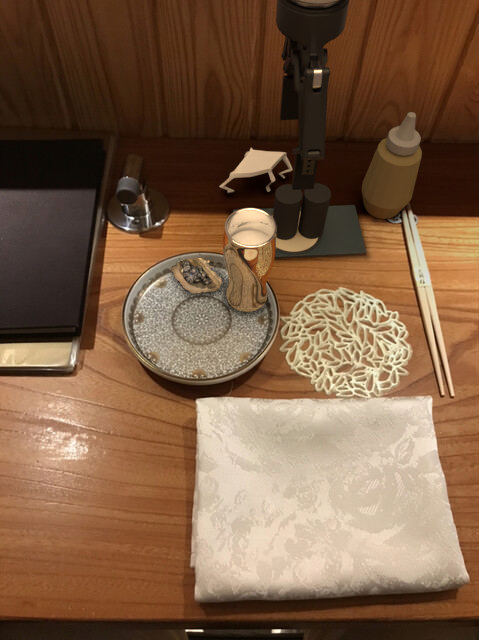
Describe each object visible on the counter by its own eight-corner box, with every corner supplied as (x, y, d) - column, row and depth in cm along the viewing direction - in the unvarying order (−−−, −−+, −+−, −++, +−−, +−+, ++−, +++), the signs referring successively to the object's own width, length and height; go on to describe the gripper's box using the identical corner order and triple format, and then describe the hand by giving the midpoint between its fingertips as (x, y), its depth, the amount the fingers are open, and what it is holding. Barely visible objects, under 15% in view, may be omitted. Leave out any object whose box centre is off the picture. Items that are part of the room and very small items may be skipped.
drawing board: (354, 207, 92) (355, 204, 92) (365, 255, 87) (366, 252, 87) (233, 212, 91) (233, 208, 91) (237, 260, 86) (237, 257, 86)
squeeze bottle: (411, 198, 94) (447, 106, 79) (398, 231, 90) (433, 141, 75) (365, 182, 95) (391, 90, 80) (350, 215, 92) (374, 123, 76)
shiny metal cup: (213, 292, 83) (211, 223, 70) (249, 268, 85) (253, 198, 73) (244, 323, 80) (247, 257, 67) (280, 297, 83) (290, 229, 70)
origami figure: (258, 154, 99) (259, 131, 94) (293, 179, 96) (296, 156, 91) (208, 188, 94) (207, 166, 90) (244, 215, 91) (244, 193, 87)
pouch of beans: (189, 249, 87) (188, 241, 86) (233, 271, 85) (233, 264, 83) (163, 279, 84) (162, 271, 82) (208, 303, 82) (208, 295, 80)
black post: (295, 220, 90) (301, 183, 83) (297, 240, 88) (303, 203, 81) (270, 220, 90) (274, 184, 83) (272, 240, 87) (276, 204, 81)
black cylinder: (321, 219, 90) (329, 182, 83) (325, 238, 88) (333, 202, 81) (296, 220, 90) (302, 183, 83) (299, 239, 88) (305, 203, 81)
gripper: (265, -68, 64) (259, 94, 82) (293, 64, 51) (278, 222, 69) (330, -70, 65) (310, 91, 83) (374, 60, 52) (338, 218, 70)
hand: (295, 151), depth 76 cm, fingers open, 13 cm apart
